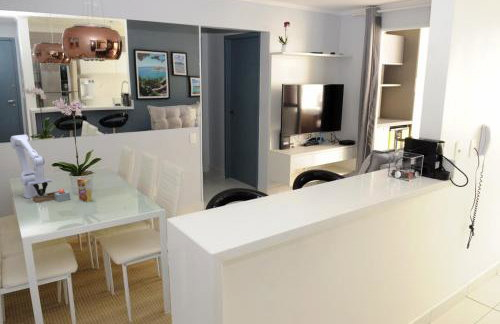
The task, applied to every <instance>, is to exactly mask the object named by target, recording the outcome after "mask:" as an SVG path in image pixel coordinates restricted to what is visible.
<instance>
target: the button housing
mask: <svg viewBox="0 0 500 324" xmlns="http://www.w3.org/2000/svg"><path fill="white" fill-rule="evenodd" d="M56 192H57V191H56ZM54 196H55V199H54V201H56V202H57V203H61V202H65V201H69V200H71V195H70V192H69V191H67V190H64V193H63V194H60V193H59V192H57V193H54Z"/></svg>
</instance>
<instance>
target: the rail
mask: <svg viewBox="0 0 500 324" xmlns="http://www.w3.org/2000/svg"><path fill="white" fill-rule="evenodd" d="M57 192H59V190H57V191H52V192H45V194H47V195H48V196H46V197H41V198H37V197H36V196H33V197H32V201H34V202H35V203H36V204H39V203H43V202H49V201H55V196H54V193H57Z"/></svg>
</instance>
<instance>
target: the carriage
mask: <svg viewBox="0 0 500 324" xmlns="http://www.w3.org/2000/svg"><path fill="white" fill-rule="evenodd" d="M39 193H40V195H36V197H37V198H41V197H46V196H48V195H47V194H46V193H45V194H44V190H43V188H39Z"/></svg>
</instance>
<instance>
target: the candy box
mask: <svg viewBox="0 0 500 324" xmlns="http://www.w3.org/2000/svg"><path fill="white" fill-rule="evenodd" d="M76 183H77V192H78V193H77V194H78V200H79V201H83V202H88V203H89V202H92V201H93V197H92V185H91V179H88V178H85V177H84V178H83V177H80V178H77V179H76Z"/></svg>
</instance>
